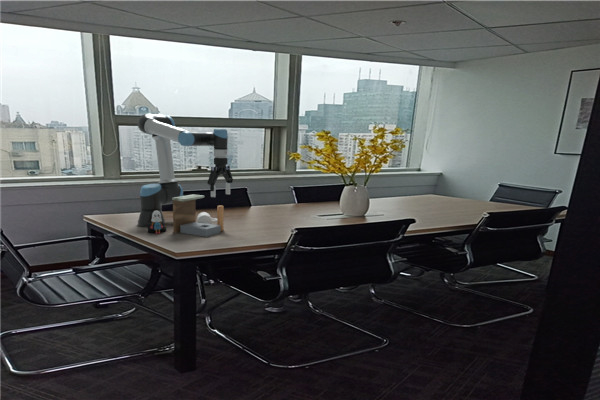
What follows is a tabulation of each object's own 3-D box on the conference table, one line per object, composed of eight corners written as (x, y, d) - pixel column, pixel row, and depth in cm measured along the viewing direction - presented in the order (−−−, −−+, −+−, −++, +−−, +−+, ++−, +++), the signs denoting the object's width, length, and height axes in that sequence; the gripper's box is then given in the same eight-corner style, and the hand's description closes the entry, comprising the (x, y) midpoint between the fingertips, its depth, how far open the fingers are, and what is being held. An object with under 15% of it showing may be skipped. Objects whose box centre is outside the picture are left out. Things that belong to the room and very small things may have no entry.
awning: (172, 232, 239) (172, 197, 236) (193, 227, 254) (193, 194, 251) (184, 234, 236) (183, 199, 233) (204, 228, 251) (204, 195, 248)
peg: (216, 230, 247) (216, 206, 245) (219, 229, 250) (219, 205, 248) (221, 231, 245) (221, 206, 243) (224, 230, 248) (224, 205, 246)
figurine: (148, 235, 233) (148, 212, 231) (146, 230, 243) (146, 209, 241) (167, 233, 237) (167, 211, 235) (164, 229, 247) (164, 208, 245)
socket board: (180, 232, 240) (180, 225, 240) (194, 228, 251) (194, 221, 250) (206, 236, 232) (206, 229, 232) (220, 232, 243) (220, 225, 242)
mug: (197, 229, 250) (197, 215, 249) (196, 225, 260) (196, 212, 258) (219, 228, 253) (219, 214, 252) (217, 224, 263) (217, 211, 262)
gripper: (212, 158, 229) (212, 198, 232) (239, 156, 251) (239, 193, 254) (200, 157, 232) (200, 197, 235) (228, 156, 254) (228, 192, 257)
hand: (220, 195), depth 245 cm, fingers open, 13 cm apart
